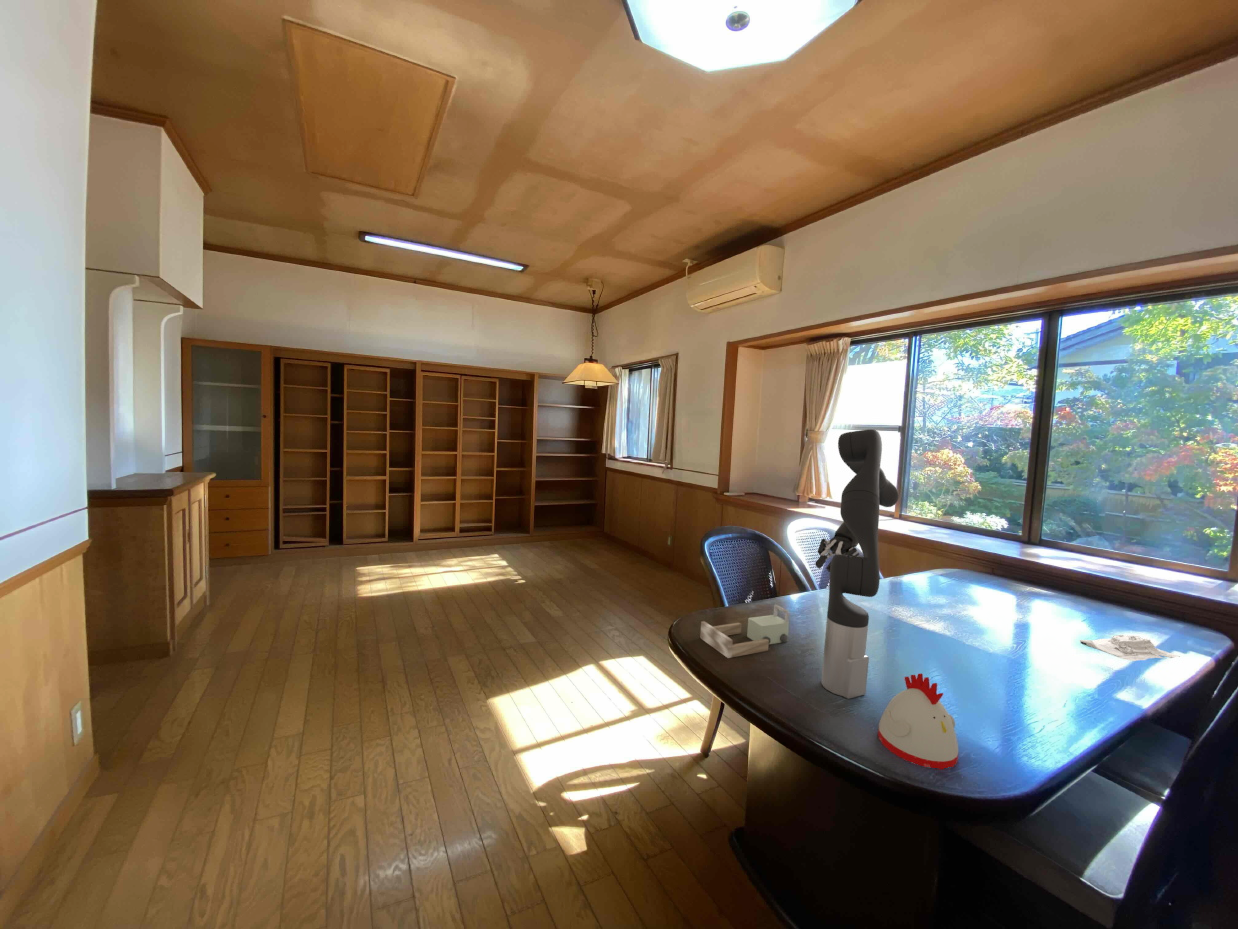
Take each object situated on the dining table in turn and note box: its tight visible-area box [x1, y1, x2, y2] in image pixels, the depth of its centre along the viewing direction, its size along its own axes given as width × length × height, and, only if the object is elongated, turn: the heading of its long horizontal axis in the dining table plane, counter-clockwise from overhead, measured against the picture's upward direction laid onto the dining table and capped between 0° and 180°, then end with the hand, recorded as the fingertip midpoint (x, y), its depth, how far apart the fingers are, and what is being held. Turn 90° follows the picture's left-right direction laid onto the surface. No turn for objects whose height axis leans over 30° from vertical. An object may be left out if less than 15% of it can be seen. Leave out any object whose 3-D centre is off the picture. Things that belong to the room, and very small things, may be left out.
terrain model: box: [1079, 634, 1181, 662], centre depth 154 cm, size 17×23×5 cm
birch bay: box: [699, 620, 770, 659], centre depth 143 cm, size 13×14×5 cm
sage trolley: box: [746, 604, 790, 645], centre depth 148 cm, size 8×10×10 cm
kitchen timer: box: [877, 673, 959, 770], centre depth 99 cm, size 14×14×15 cm
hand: (822, 568), depth 156 cm, fingers open, 3 cm apart
